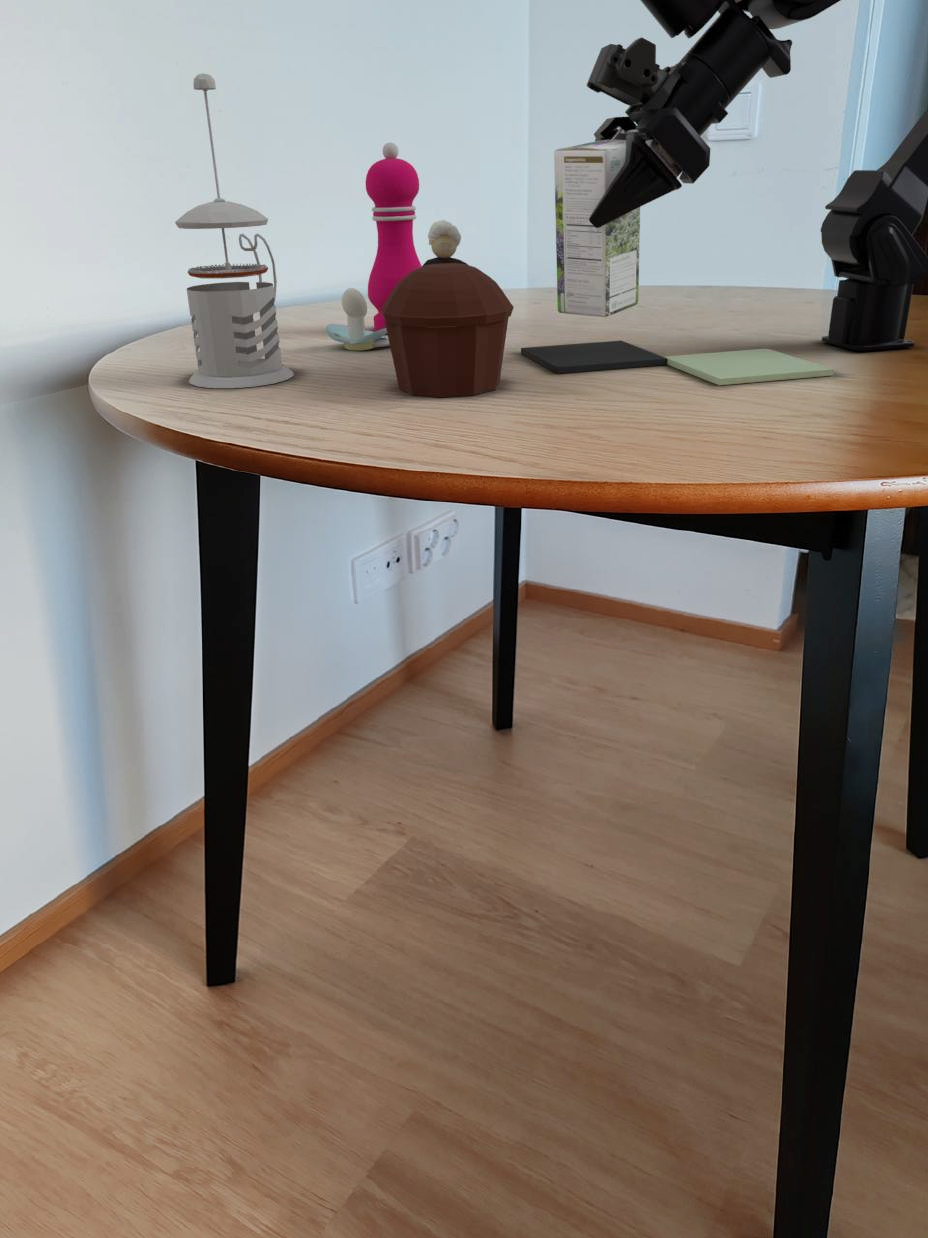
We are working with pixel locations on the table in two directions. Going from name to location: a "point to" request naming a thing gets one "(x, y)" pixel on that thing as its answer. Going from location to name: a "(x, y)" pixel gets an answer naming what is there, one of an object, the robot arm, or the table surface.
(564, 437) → the table surface
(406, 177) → the pepper mill
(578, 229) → the syrup box
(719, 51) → the robot arm
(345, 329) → the pacifier
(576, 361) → the charcoal mat
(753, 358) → the sage mat
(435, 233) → the grandmother figurine
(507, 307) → the muffin
